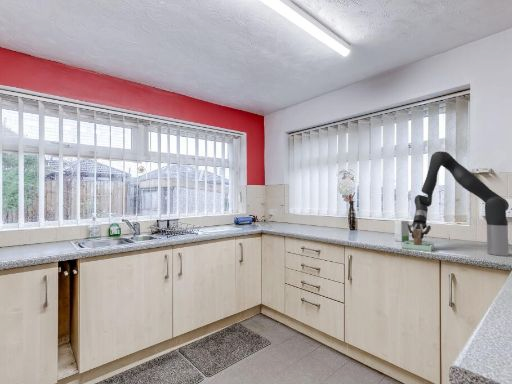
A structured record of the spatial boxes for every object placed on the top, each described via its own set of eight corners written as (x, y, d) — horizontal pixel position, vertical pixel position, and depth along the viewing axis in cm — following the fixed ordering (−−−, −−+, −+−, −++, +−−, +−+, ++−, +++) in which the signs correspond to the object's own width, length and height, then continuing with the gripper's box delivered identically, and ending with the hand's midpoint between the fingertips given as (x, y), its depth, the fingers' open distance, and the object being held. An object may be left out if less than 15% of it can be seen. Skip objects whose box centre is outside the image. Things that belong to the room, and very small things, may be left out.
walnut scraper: (421, 244, 177) (421, 229, 177) (420, 245, 174) (420, 229, 174) (414, 243, 180) (414, 228, 180) (413, 244, 177) (413, 229, 177)
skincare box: (401, 242, 202) (401, 221, 202) (394, 240, 208) (393, 220, 209) (409, 241, 205) (409, 220, 206) (401, 240, 211) (401, 220, 212)
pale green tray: (434, 248, 177) (433, 243, 177) (430, 251, 166) (430, 246, 166) (406, 245, 187) (406, 241, 187) (401, 248, 177) (401, 243, 177)
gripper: (407, 214, 188) (403, 233, 178) (432, 214, 178) (429, 235, 169) (409, 221, 192) (405, 240, 182) (433, 222, 182) (430, 242, 173)
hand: (417, 238), depth 175 cm, fingers closed on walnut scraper, 3 cm apart
